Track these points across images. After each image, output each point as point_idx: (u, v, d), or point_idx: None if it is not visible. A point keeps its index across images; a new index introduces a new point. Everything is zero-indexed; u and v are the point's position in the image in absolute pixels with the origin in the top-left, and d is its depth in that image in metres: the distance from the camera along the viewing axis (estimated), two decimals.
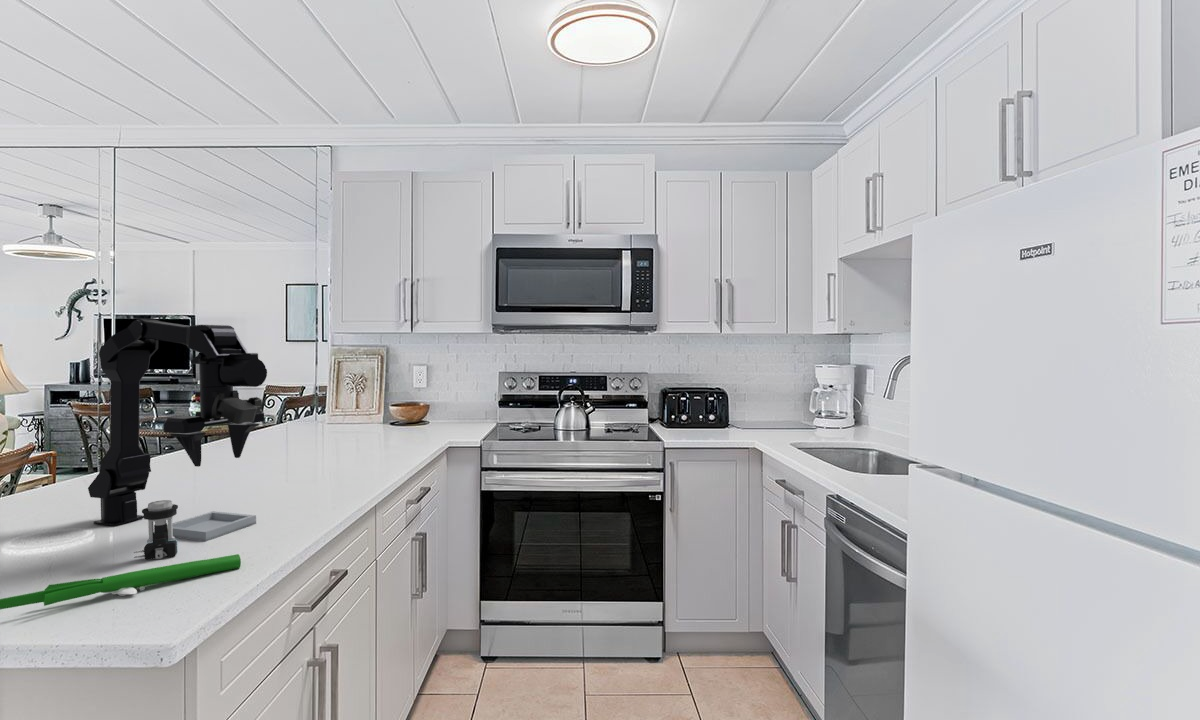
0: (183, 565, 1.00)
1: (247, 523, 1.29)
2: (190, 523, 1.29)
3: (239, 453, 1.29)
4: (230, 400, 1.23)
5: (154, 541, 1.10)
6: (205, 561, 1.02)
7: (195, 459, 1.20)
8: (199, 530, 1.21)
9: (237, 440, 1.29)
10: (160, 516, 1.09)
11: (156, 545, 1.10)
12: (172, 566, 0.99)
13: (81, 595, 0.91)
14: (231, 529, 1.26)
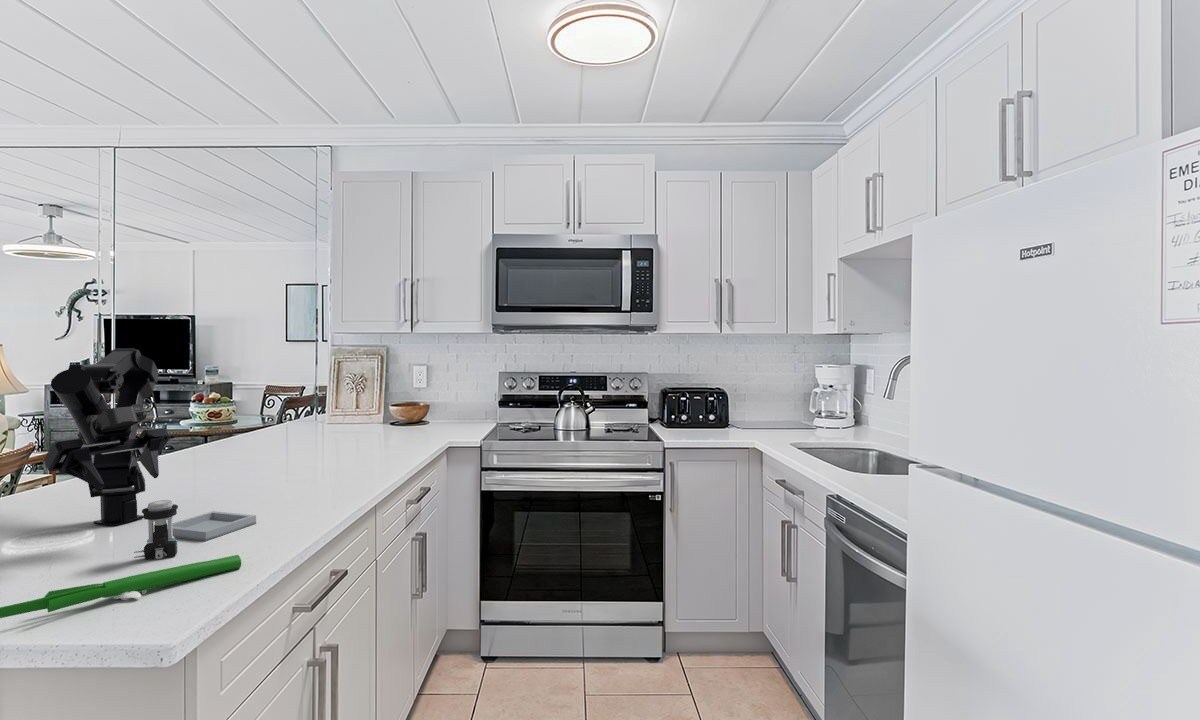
0: (185, 567, 0.99)
1: (247, 523, 1.29)
2: (190, 523, 1.29)
3: (155, 470, 1.18)
4: None
5: (154, 541, 1.10)
6: (206, 562, 1.02)
7: (94, 481, 1.09)
8: (199, 530, 1.21)
9: (149, 462, 1.19)
10: (160, 516, 1.09)
11: (156, 545, 1.10)
12: (174, 568, 0.98)
13: (84, 600, 0.89)
14: (231, 529, 1.26)
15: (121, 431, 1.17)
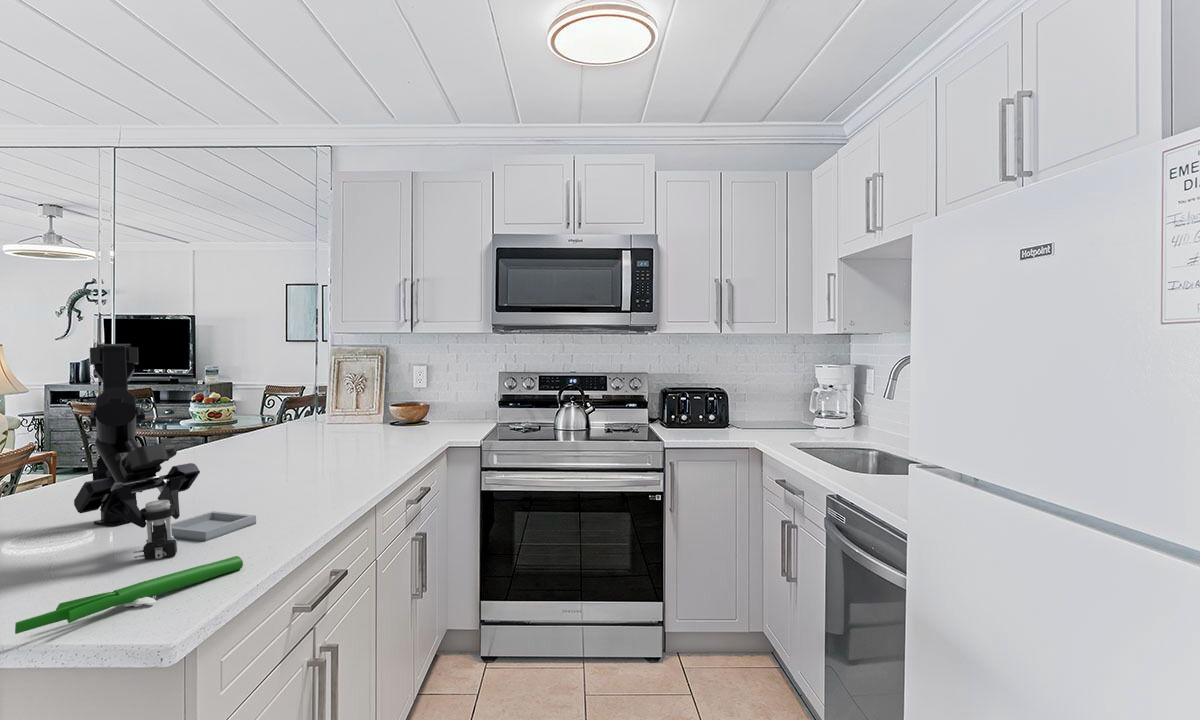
0: (191, 570, 0.98)
1: (247, 523, 1.29)
2: (190, 523, 1.29)
3: (176, 511, 1.13)
4: None
5: (153, 541, 1.10)
6: (210, 565, 1.01)
7: (137, 520, 1.08)
8: (199, 530, 1.21)
9: None
10: (158, 517, 1.09)
11: (155, 545, 1.10)
12: (181, 572, 0.97)
13: (100, 609, 0.86)
14: (231, 529, 1.26)
15: (151, 469, 1.13)
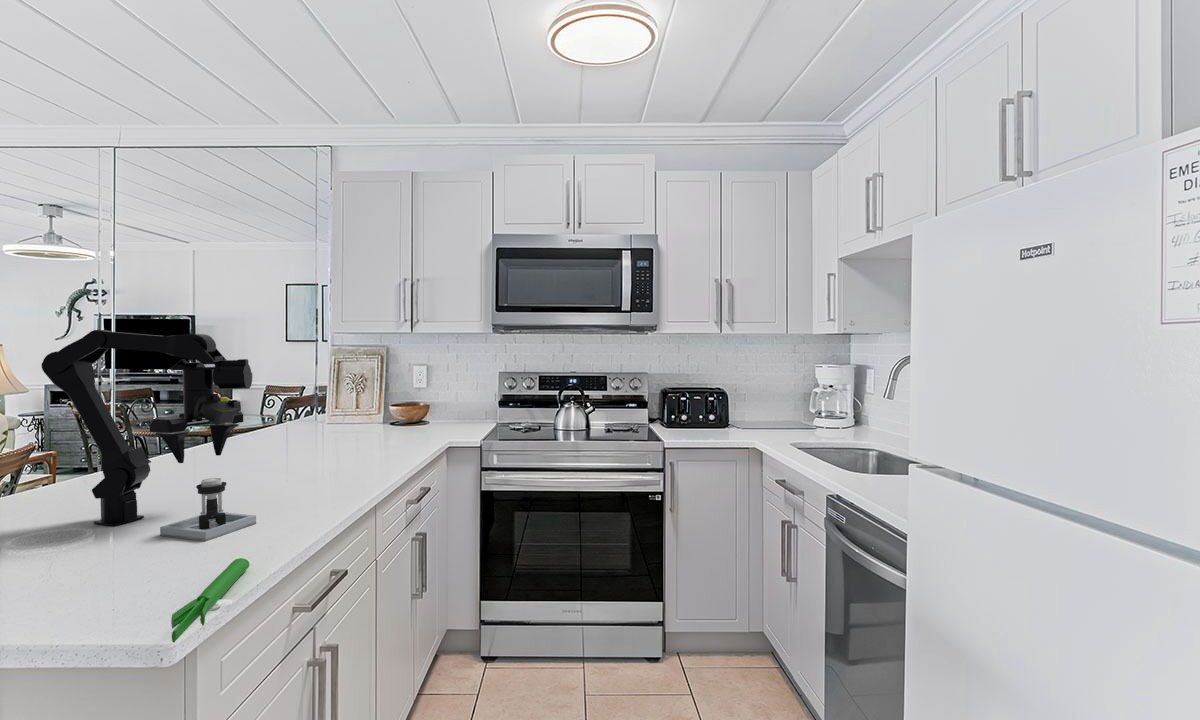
0: (229, 573, 0.97)
1: (247, 523, 1.29)
2: None
3: (220, 451, 1.41)
4: (211, 403, 1.35)
5: (208, 512, 1.26)
6: (234, 567, 1.00)
7: (178, 456, 1.32)
8: (199, 530, 1.21)
9: (218, 439, 1.41)
10: (214, 491, 1.26)
11: (210, 516, 1.27)
12: (225, 575, 0.95)
13: (206, 613, 0.84)
14: (231, 529, 1.26)
15: None
